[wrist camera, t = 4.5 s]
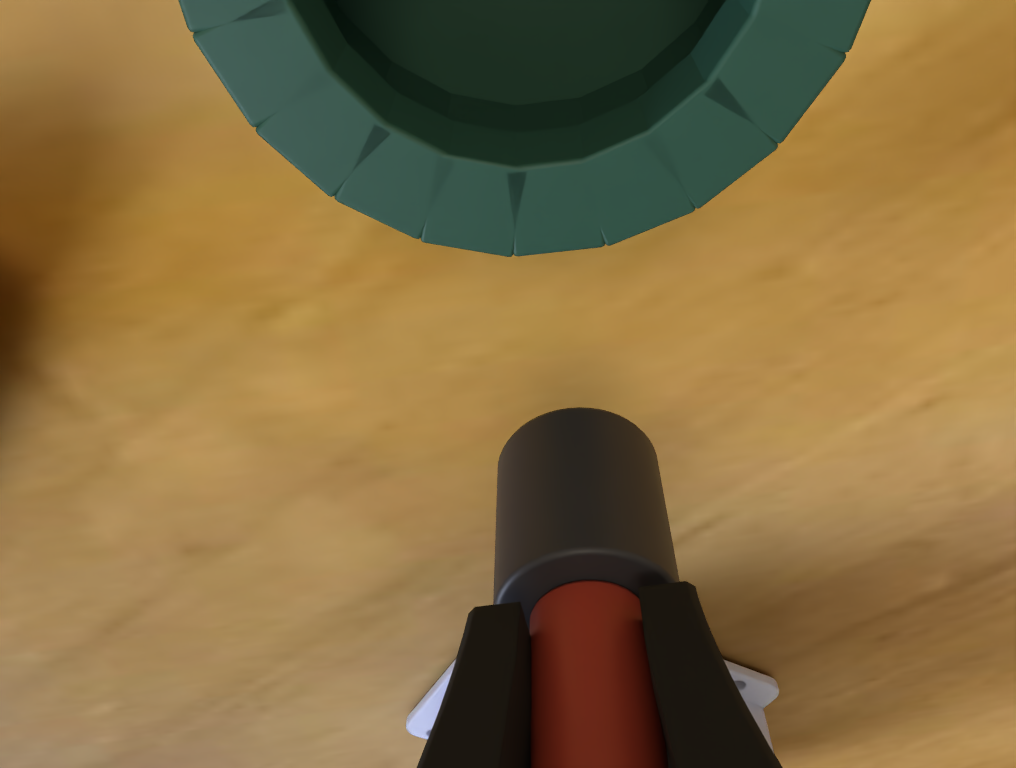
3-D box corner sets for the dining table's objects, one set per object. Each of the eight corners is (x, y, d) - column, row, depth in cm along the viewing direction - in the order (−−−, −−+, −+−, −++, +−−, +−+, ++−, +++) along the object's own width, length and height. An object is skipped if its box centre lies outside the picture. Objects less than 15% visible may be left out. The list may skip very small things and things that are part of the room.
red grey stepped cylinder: (689, 444, 14) (826, 1043, 8) (601, 541, 16) (657, 1118, 9) (548, 381, 13) (572, 984, 7) (470, 489, 15) (431, 1075, 8)
